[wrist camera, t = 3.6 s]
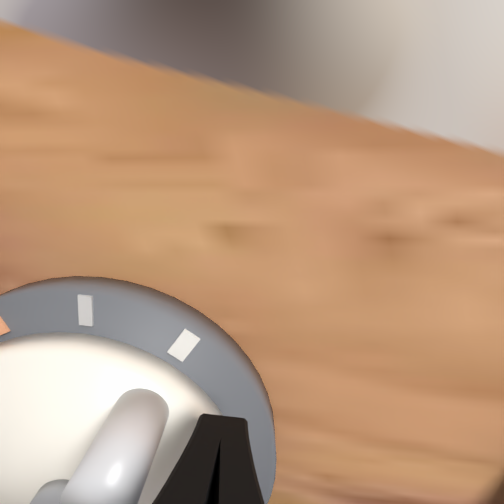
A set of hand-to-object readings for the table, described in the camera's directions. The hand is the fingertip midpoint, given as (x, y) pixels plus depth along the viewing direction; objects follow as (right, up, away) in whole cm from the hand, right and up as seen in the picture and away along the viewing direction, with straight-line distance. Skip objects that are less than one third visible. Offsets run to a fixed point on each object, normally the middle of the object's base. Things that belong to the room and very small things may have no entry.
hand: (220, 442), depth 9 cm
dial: (-6, -4, +4) cm, 8 cm away
